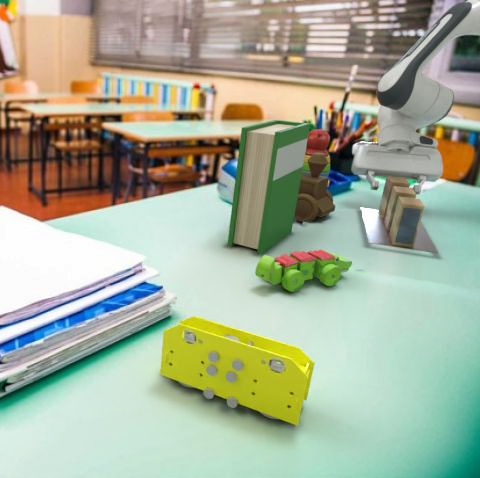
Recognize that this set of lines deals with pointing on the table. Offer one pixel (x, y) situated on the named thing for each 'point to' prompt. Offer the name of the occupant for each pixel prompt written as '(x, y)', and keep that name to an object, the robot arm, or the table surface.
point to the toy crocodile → (302, 268)
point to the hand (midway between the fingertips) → (395, 191)
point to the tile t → (406, 221)
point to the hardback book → (267, 183)
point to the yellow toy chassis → (238, 367)
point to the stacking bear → (317, 149)
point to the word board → (381, 234)
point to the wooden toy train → (314, 191)
